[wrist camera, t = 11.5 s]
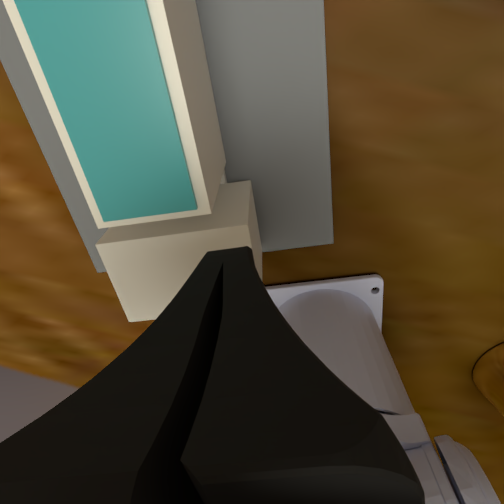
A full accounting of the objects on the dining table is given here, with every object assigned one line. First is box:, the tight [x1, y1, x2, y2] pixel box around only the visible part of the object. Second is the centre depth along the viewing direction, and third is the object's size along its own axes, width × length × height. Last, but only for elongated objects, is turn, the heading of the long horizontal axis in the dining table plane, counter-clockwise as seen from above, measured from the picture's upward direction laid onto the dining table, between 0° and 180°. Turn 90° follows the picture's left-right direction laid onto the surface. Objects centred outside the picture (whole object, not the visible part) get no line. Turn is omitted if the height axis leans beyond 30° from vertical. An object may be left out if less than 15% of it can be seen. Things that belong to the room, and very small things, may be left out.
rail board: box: [0, 0, 334, 322], centre depth 14 cm, size 18×14×6 cm
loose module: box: [2, 0, 226, 229], centre depth 13 cm, size 7×4×6 cm, turn 9°
